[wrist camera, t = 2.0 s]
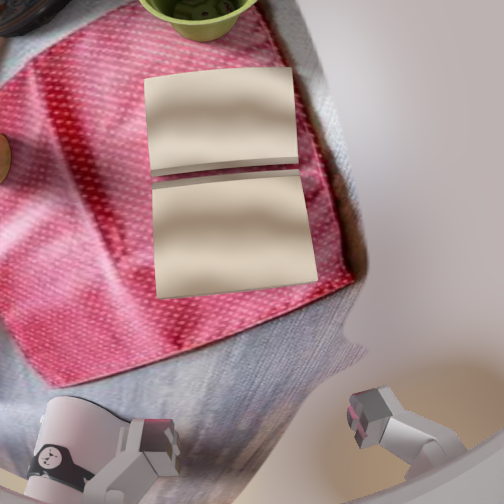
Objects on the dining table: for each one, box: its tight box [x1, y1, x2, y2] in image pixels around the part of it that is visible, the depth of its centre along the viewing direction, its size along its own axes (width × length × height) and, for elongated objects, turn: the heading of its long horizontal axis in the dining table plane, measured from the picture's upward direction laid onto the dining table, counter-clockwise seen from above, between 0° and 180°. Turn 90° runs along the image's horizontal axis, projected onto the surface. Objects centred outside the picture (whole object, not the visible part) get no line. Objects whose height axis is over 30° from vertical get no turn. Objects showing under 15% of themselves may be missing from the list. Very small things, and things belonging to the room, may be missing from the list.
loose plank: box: [152, 169, 318, 300], centre depth 26 cm, size 10×13×2 cm
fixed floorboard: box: [144, 67, 299, 177], centre depth 25 cm, size 9×13×2 cm
